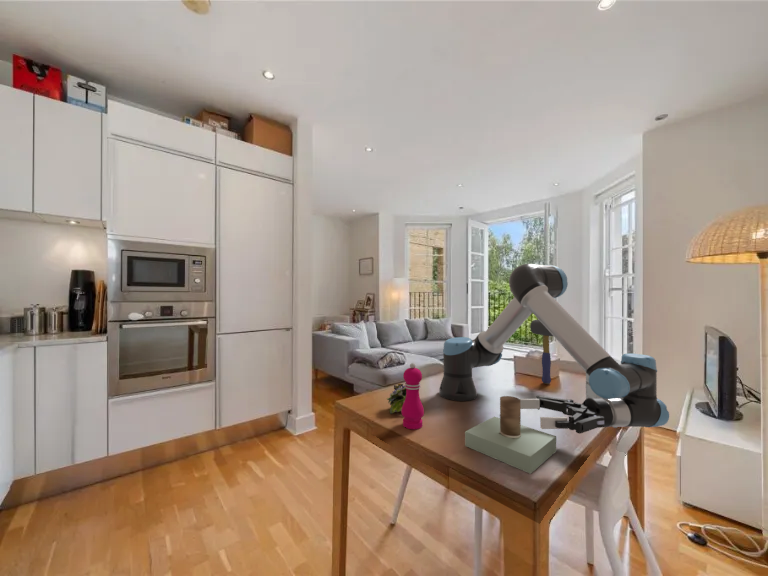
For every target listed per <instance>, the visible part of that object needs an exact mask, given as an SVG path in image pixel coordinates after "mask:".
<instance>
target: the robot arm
mask: <svg viewBox="0 0 768 576" xmlns="http://www.w3.org/2000/svg"><path fill="white" fill-rule="evenodd" d="M568 283H569V282H568V277H567V275H566V272H565V271H564V270H563V269H562V268H560V267H558V266H556V265H552V264H537V263H536V264H533V263H524V264H521V265H519V266H517V267H516V268H515V269H514V270H512V272H511V274H510V276H509V279H508V284H509V289H510V292H511V294H512V295H513V298H512V299H511V300H510V301H509V303H508V304H507V305H506V307H505V308H504V309H503V310H501V311H502V312H500V314H499V315H498V316H497V317H496V319H495V320H494V321H493V322H492V324H490V326H489V327H488V329H487V330H483V331H482V330H481V331H480V332H479V333H478V334H477V336H476V337H475V338H474V339H471V338H470V337H465V336H461V337H459V336H458V337H451V338H448V339H447V340H445V341H444V343H443V349H442V353H443V355H442V356H443V376H442V378H441V379H442V380H441V383H440V384H439V385H440V386H439V390H438V391H439V396H440V397H442V398H444V399H446V400H450V401H457V402H458V401H459V402H465V401H467V402H468V401H472V400H475V399H477V397H478V396H477V389H476V385H475V383H474V379H473V369H475V368H482V367H489V366H493V365H495V364H498V363H499V362H500V361H501V359H502V357H503V351H504V344H505V343H506V342H507V341H508V340H509V339H511V337H512V335H513V334H514V333H515V332H516V331H517V330H519V328H520V327H521V326H522V324H524V322H525V321H526V320H527V319H528V318H529V317H531V316H532V314H533V315H534V316H535V317H536V319H537V320H540V322H541V323H542V324H543V325H544V326H545V327H546V328H547V329H548V330H549V332H550V333H551V334H552V335H553V336H552V337H554V338H555V339H556V341H558V343H559V344H560V345H561V346H562V347H563V349H564V350H565V351H566V352H567V353H568V354H569V355H570V356H571V357H572V358H573V360H574V361H575V362H576V363H577V364H578V365H579V366H580V367H581V369H582V370H583V371H584V372H585V374H586V373H587V374H588V375H589V384H590V388H591V389H592V391H593V392H594V393H595V394H596V395H598V396H600V397H602V398H587V399H586V398H584V399H585V400H583V402H582V403H580V402H574V399H571V398H570V399H567V398H566V399H565V398H558V397H549V396H542V395H541V396H540V395H536V397H535V398H519V399H520V405H521V410H537V411H538V410H540V409H545V410H550V411H554V412H555V411H556V412H560V413H562V414H563V415H566V416H568V417H566V416H540V420H539V422H540V429H541V430H570V431H575V432H576V433H577V434H583V433H586V432H589V431H591V430H595V429H598V428H599V429H600V428H608V427H610V428H614V429H617V428H618V427H619V428H622V427H625V428H626V427H627V428H628V427H629V428H630V427H633V428H636V427H637V428H639V427H640V428H642V427H643V428H644V427H645V428H652V427H653V428H655V427H662V426H665V425H666V424H668V422H669V420H670V411H669V410H668V408H667V405H666V403H664V402H663V400H661V398H658V397H657V396H658V395H657V388H658V387H657V384H658V383H657V381H658V380H657V379H658V377H657V375H658V374H657V372H658V369H657V362H656V359H655V358H654V357H653V356H651V355H647V354H641V353H624V354H622V355H621V361H620V364H619V362H617V361H616V360H615V358H614V357H612V356H611V355H610V354H609V353H608V351H606V349H604V348H603V346H601V345H600V343H598V341H597V340H595V339H594V338H593V336H591V334H590V333H588V331H587V330H586V329H584V327H583V326H582V325H581V324H580V323H579V322H578V321H577V320H576V319H575V318H574V317H573V316H572V315H571V314H570V313H569V312H568V311H567V310H566V309H565V308H564V307H563V306H562V305H561V304H560V303H559V302H558V301H557V300H556V298H559V297H561V296H562V295H564V294H565V292H566V291H567V288H568Z"/></svg>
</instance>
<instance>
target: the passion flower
mask: <svg viewBox="0 0 768 576" xmlns="http://www.w3.org/2000/svg"><path fill="white" fill-rule="evenodd" d="M405 398H406V388H405V384H404V383H397V384H394V385H393V391H392V393H390V394H389V397H387V398H386V400H387V401H388V404H389V405H390V408H389V414H390V415H392V414H394V413H399V412H401V411H402V406H403V403H404V401H405Z"/></svg>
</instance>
